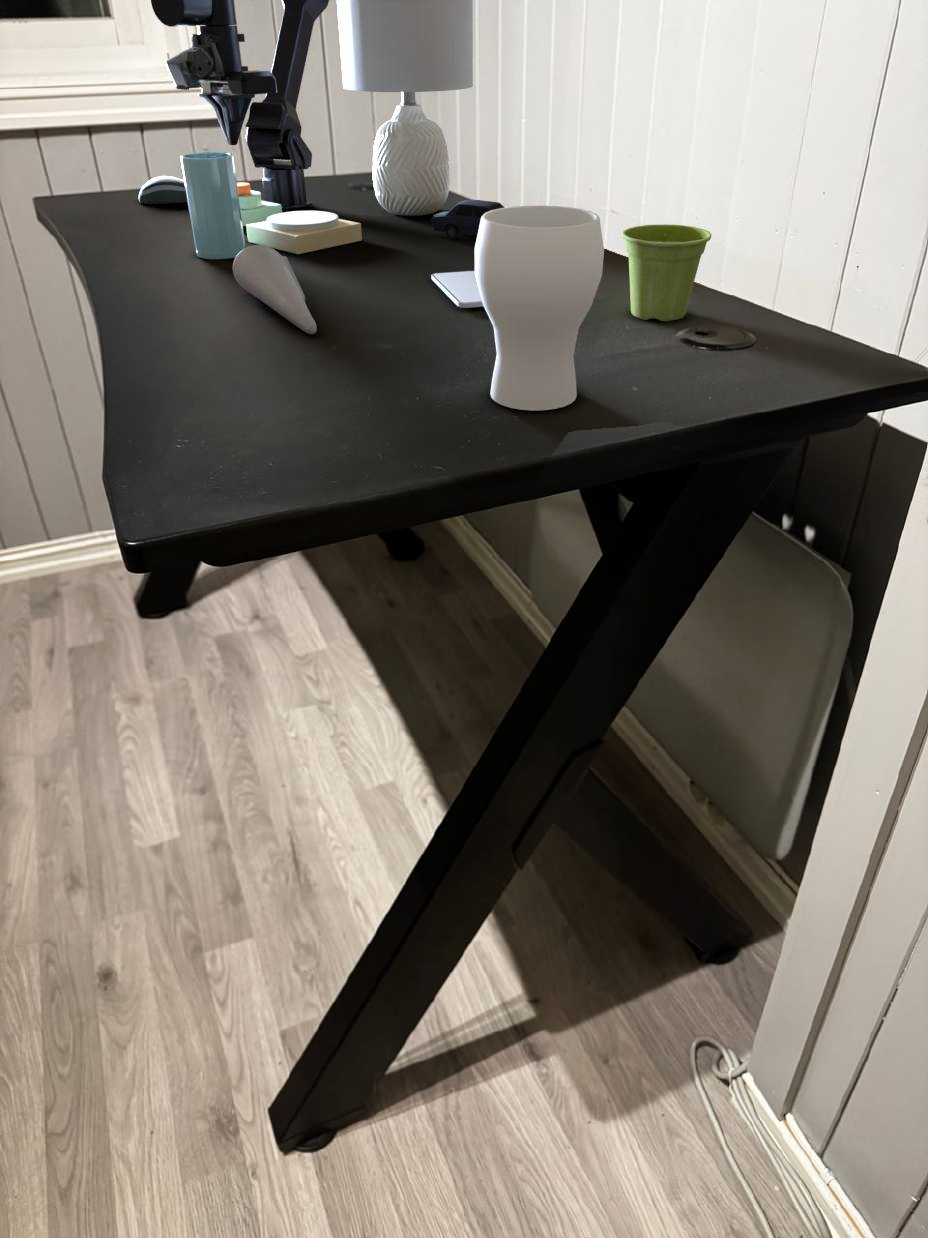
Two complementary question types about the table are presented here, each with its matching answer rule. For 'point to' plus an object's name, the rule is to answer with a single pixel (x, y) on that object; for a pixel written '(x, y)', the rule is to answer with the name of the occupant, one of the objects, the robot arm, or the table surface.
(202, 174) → the tumbler
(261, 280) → the long tapered cone
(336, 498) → the table surface
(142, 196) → the computer mouse
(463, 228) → the toy car
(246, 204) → the button box
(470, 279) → the smartphone
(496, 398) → the cup
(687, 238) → the plant pot
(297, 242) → the scale
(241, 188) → the button
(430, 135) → the lamp
